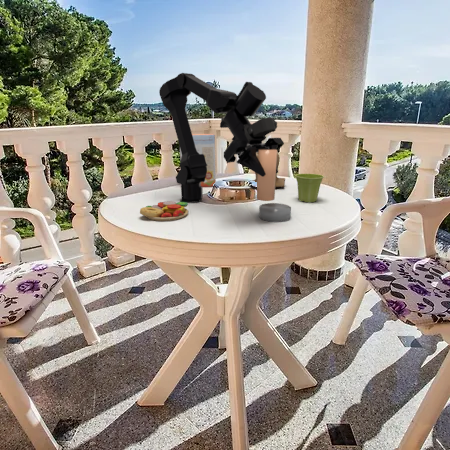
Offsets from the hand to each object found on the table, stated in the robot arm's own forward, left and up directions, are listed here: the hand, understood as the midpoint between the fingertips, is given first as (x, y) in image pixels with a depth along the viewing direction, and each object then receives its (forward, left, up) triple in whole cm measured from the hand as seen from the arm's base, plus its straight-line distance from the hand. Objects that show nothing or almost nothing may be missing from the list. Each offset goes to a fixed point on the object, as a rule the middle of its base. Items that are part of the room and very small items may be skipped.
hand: (270, 174), depth 86 cm
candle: (-1, +1, -7) cm, 7 cm away
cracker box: (-28, +47, -14) cm, 56 cm away
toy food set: (-30, +5, -14) cm, 34 cm away
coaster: (+2, +6, -13) cm, 15 cm away
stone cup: (+1, +47, -14) cm, 49 cm away
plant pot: (+14, +27, -14) cm, 33 cm away
